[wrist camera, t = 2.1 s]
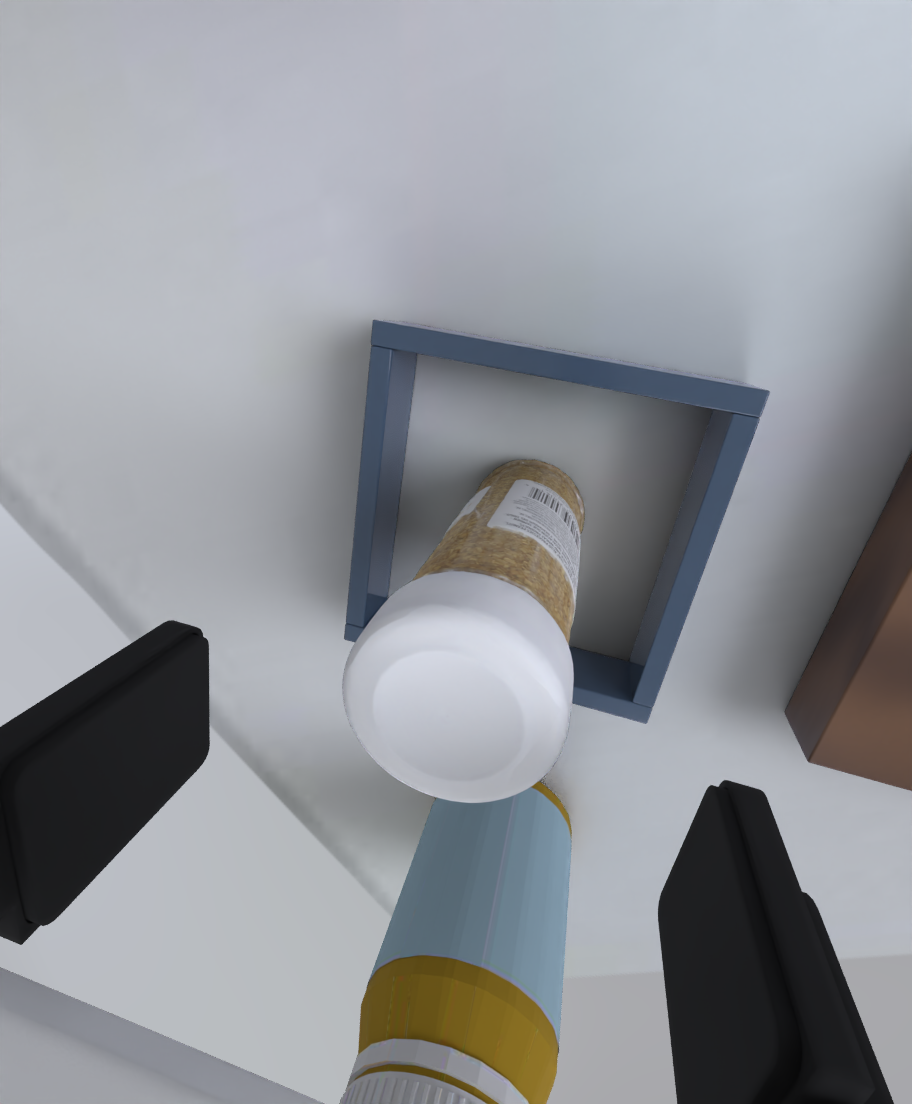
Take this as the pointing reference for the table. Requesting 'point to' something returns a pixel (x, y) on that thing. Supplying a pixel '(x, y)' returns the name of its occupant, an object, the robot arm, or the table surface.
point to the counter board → (866, 661)
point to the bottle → (472, 961)
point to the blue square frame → (732, 402)
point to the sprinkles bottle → (477, 646)
